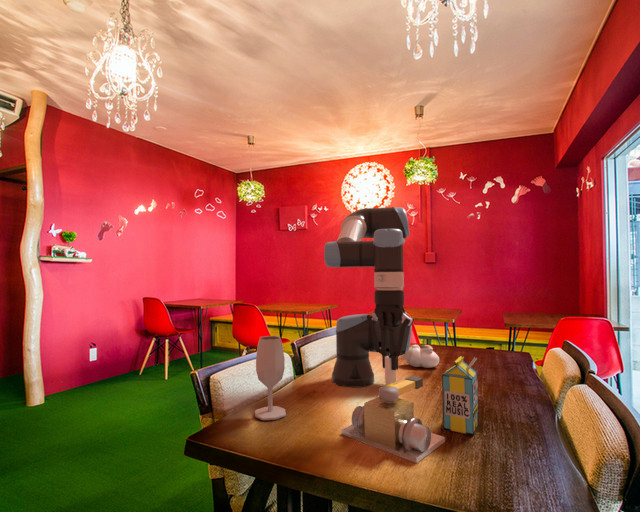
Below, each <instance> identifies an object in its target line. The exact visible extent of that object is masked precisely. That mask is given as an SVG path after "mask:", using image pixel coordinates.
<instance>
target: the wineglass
mask: <svg viewBox="0 0 640 512" xmlns="http://www.w3.org/2000/svg"><path fill="white" fill-rule="evenodd" d="M258 339H259V340H258V343H257V348H256V356H255V371H256V375H257V379H258V381H260V382H261V383H262V384H263V385H264V386H265V387H266V388H267V406H264V407H261V408H258V409H255V411H254V417H255V418H256V419H258V420H261V421H276V420H279V419H282V418H284V417H286V416H287V413H286V408H283V407H281V406H278V405H273V404H274V403H273V402H274V401H273V400H274V397H273V391H274V390H273V388H274V387H276V385H277V384H279V382H281V381H282V380H283V378H284V374H285V373H284V372H285V369H286V367H285V365H286V364H285V359H286V358H285V354H284V353H285V351H284V345H283V342H282V339H281V336H278V335H266V336H265V335H264V336H259V338H258Z"/></svg>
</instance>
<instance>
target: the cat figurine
mask: <svg viewBox="0 0 640 512" xmlns="http://www.w3.org/2000/svg"><path fill="white" fill-rule="evenodd" d="M421 347H422V348H421ZM421 347H420V346H419V345H418V344H413V345H410V347H409V350H408V351H407V352H405V354H404V355H401V359H402V360H403V361H405V362H407V364H409V365H410V366H411V367H414V368H419V367H421V368H424V369H430V368H434V367H436V366H437V365H439V363H440V357H439V355H438V354H437V353H436V352H435V351H434V350H433V349H434V348H433V346H431V345H429V344H421Z"/></svg>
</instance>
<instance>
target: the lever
mask: <svg viewBox="0 0 640 512" xmlns="http://www.w3.org/2000/svg"><path fill="white" fill-rule="evenodd" d="M423 387H424V379H423V377H418V376H413V375H410V376H408V377H405V380H402V381H400V382H398V383H395V385H393V386H386V385H384V386H380V387H379V388H378V397H379V399H381V400H383V401H397V400H398V399H399V398H400V396H402V395H404V394H406V393H408V392H410V391H412V390H418V389H421V388H423Z"/></svg>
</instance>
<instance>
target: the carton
mask: <svg viewBox="0 0 640 512" xmlns="http://www.w3.org/2000/svg"><path fill="white" fill-rule="evenodd" d="M464 358H465V356H459V357H458V358H457V359H456V360H454V365H452V366H450V367H449V368H448V369H446V371H445V372H444V373H442V375H441V380H442V382H441V383H442V384H441V385H442V387H441V389H442V426H443V427H442V428H443V429H442V430H443V431H448V432H451V433H452V432H453V433H457V434H462V435H466V436H471V437H474V436H475V434H476V432H477V429H478V428H479V400H478V399H479V394H478V388H479V387H478V386H479V385H478V372H477V370H475V369H474V368H472V367H473V366H474V364H475V363H476V361H477V360H478V357H476V356H474V357H473V359H472V360H471V361H470V363H466V362H465V361H464Z"/></svg>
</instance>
